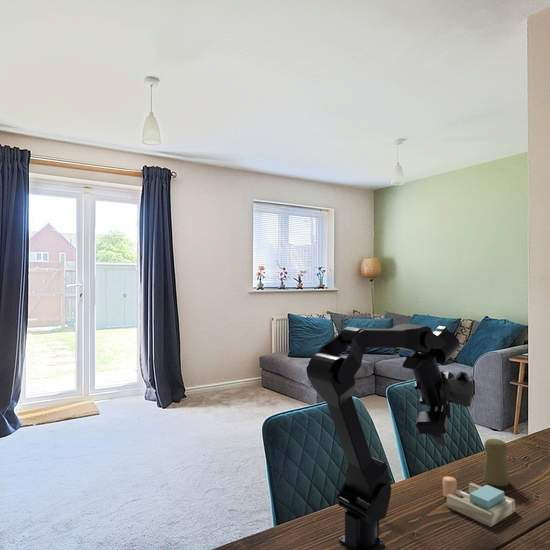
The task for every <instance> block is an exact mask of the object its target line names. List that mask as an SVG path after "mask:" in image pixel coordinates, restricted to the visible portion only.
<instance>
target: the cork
mask: <svg viewBox="0 0 550 550" xmlns="http://www.w3.org/2000/svg"><path fill="white" fill-rule="evenodd" d="M483 445H484V446H483V447H484V451H485V452H486V454H485V461H484V463H485V464H484V470H483V476H482V480H483V481H484V482H486V483H487V484H490V485H492V486H495V487H506V486H508V485H509V484H510V482H509V474H508V467H507V462H506V461H507V460H506V455H507V454H508V446H507V444H506V442H505V441H504V440H501V439H497V438H489V439H488V438H487V439H486V440H485V441H484V444H483Z"/></svg>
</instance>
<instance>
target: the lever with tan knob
mask: <svg viewBox="0 0 550 550" xmlns="http://www.w3.org/2000/svg"><path fill="white" fill-rule="evenodd" d="M448 494H452V495H454V496H457V495H459V496H462V498H463V497H466V498H468V499H470V502H471V503H473V504H475V505H477V506H480V507H482V508H484V509H487V510H489V509H491V508H493V507H494V506H496V505H498V504H499V503H501V502H503V501H504V496H505V491H504V490H501V489H498V488H495V487H493V486H491V485H488V484H485V485H483V486H481V488H479V489H477V490H476V491H474V492H472V493H470V495H469V493H468V492H465V491H462V490H460V489H457V478H455V477H452V476H443V477H442V496H443V497H445V499H447V495H448ZM457 497H458V496H457Z"/></svg>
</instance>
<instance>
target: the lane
mask: <svg viewBox="0 0 550 550" xmlns="http://www.w3.org/2000/svg"><path fill="white" fill-rule="evenodd" d="M481 487H482V486H481V485H478V484H476V483H474V482H470V483H468V494H469V495H470V493H472V492H474V491H476V490H477V489H479V488H481ZM446 507H447V508H449V509H451V510H453V511H455V512H458V513H460V514H462V515H464V516H466V517H469V518H471V519H472V520H475V521H477V522H479V523H481V524H484V525H485V526H488V527H491V528H492V527H493V526H494V525H496V524H498V523H499V522H501V521H503V520H504V519H506V518H507V517H508V516H510V515H512V514H514V513H515V512H516V499H514V498H511V497H510V496H506V495H504V501H503V502H501V503H499V504H498V505H496V506H494V507H493V508H491V509H489V510H487V509H484V508H482V507H480V506H477V505H475V504H473V503H471V502H470V499H468V498H466V497H463V496H462V498H461V497H458V496H454V495H452V494H448V495H447V498H446Z"/></svg>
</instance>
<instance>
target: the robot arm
mask: <svg viewBox="0 0 550 550" xmlns="http://www.w3.org/2000/svg"><path fill="white" fill-rule="evenodd" d="M460 345H461V344H460V340H459V338H458V337H456V335H455V334H454V333H453V332H452V331H449V329H448V327H447V326H443V325H439V326H437V327H436V329H435V330H434V331H432V327H430V326H429V325H419V324H411V323H401V324H397V325H394V326H393V327H391V328H364V327H363V328H361V327H352V326H347V327H345V328H342V329H341V330H340V332H338V334H337V335H336V336H335V337H334V338H332V339H331V340H329V341H328V342H326V343H325V344H323V345H322V346H321V347H320V348H319V349H318V351H317V352H316V353H315V354H313V356H312V357H310V359H309V362H308V363H307V366H306V375H307V378H308V380H309V381H310V384H311V385H312V387H313V388H314V390H315V391H316V393H317V394H318V395H319V396H320V397H321V398H322V399H323V400H324V402H325V403H326V404H327V407H328V410H329V413H330V416H331V418H332V421H333V425H334V428H335V431H336V433H337V436H338V439H339V442H340V445H341V448H342V451H343V454H344V456H345V459H346V462H347V465H346V468H345V471H344V478H345V481H344V482H343V484H342V486H341V488H340V489H339V491H338V493H337V494H336V497H335V498H336V501H337V505H338V507H341V508H343V509H344V510H346V511H344V534H343V535H341V536H339V537H338V540H339V541H338V542H341V543H342V544H343V545H345V546H346V547H348V548H350V549H351V550H378V549H380V548H381V547H383V546H385V545H386V543H385V540H383V538H380V521H381V520H382V519H384V518H386V517H387V513H388V509H389V505H390V499H391V495H392V484H391V481H392V479H393V478H391V477H390V475H389V470H388V466H387V463H385V462H384V461H381V460H379V459H377V458H374V457H373V456H372V453H371V450H370V445H369V444H368V441H367V438H366V435H365V432H364V429H363V426H362V423H361V420H360V417H359V416H360V415H359V413H358V410H357V408H356V407H357V406H356V405H355V401H354V398H353V393H354V390H355V387H356V379H355V378H356V377H355V375H356V374H357V372H358V371H359V370H360V368H361V367H362V364H363V355H364V353H365V351H366V350H367V349H392V348H393V349H394V348H395V349H400V350H404V351H410V352H412V353H411V354H410V355H406V357H405V360H404V361H403V362H402V368H404V369H409V370H411V371H412V375H413V378H414V380H415V382H414V385H413V388H414V389H415V390H418V392H419V395H420V398H419V401H418V402H419V404H420V406H423V405H424V406H425V405H426V406H427V407H429V411H427V410H426V411H425V410H423V411H420V412H418V414H417V416H416V420H415V424H414V426H415V427H414V428H415V429H416V432H417V434H419V435H428V436H429V437H430V438H431V439H433V440H434V441H435V442H436V443H437V444H438V445H440V446H441V447H445V446H446V445H447V441H446V433H447V432H448V429H449V424H450V422H449V420H448V419H451V417H452V413H451V412H452V411H451V410H452V409H451V404H455V405H460V406H463V408H464V407H465V408H469V407H471V405H472V399H473V395H474V394H473V392H474V385H475V384H474V383H473V380H470V377H469V375H468V373H467V372H464V371H459V372H458V373H457V374H456V376H455V375H454V374H453V373H451V372H450V371H441V369H440V367H439V364H444V363H445V362H447V360H449V359H450V357H452V355H453V354H454V353H455V352H456V351H457V350H458V349H460V348H459V347H460ZM348 348H350V351H349V353H348V355H347V356H346V357H341V356H340V355H341V354H342V353H344V352H345V351H347V350H348Z"/></svg>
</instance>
